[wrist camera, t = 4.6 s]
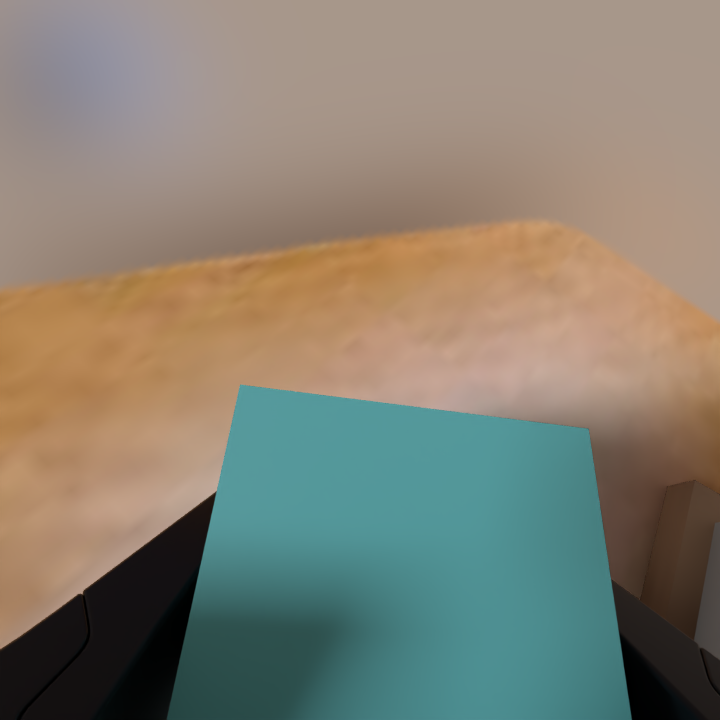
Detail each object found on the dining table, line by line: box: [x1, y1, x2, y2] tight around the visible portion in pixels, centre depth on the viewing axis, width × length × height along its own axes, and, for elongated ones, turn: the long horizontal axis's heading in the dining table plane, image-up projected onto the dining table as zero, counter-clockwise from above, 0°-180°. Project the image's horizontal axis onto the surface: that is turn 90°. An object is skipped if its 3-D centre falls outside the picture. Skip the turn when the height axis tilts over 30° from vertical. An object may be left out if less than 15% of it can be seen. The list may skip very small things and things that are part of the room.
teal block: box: [167, 385, 632, 720], centre depth 10 cm, size 5×5×10 cm
